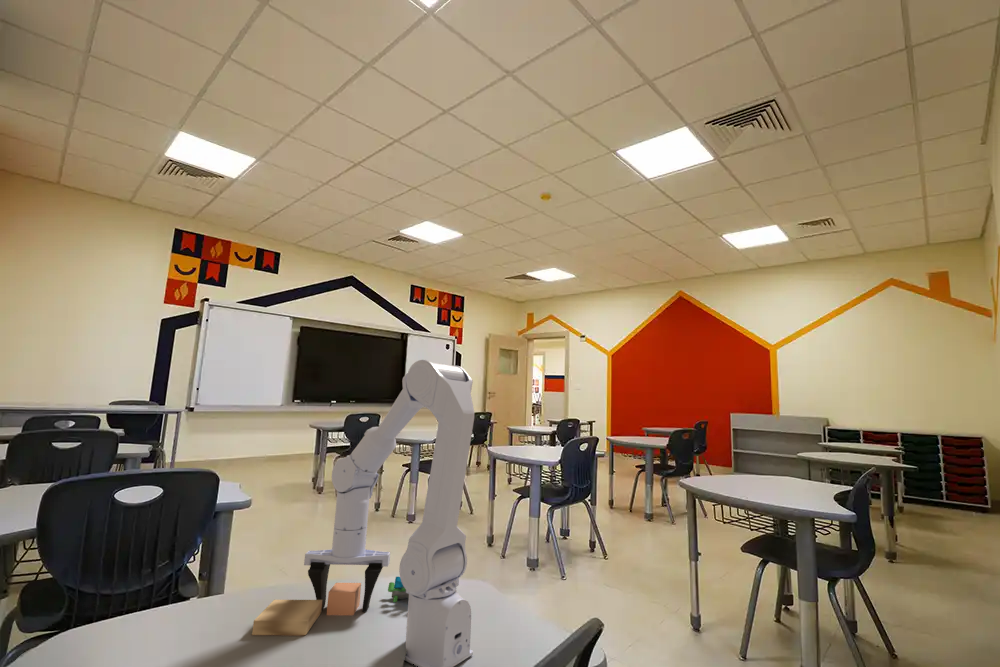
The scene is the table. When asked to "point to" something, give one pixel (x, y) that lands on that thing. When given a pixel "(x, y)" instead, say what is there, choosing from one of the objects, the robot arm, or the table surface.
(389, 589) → the gear
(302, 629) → the tower top
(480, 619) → the table surface
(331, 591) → the block
